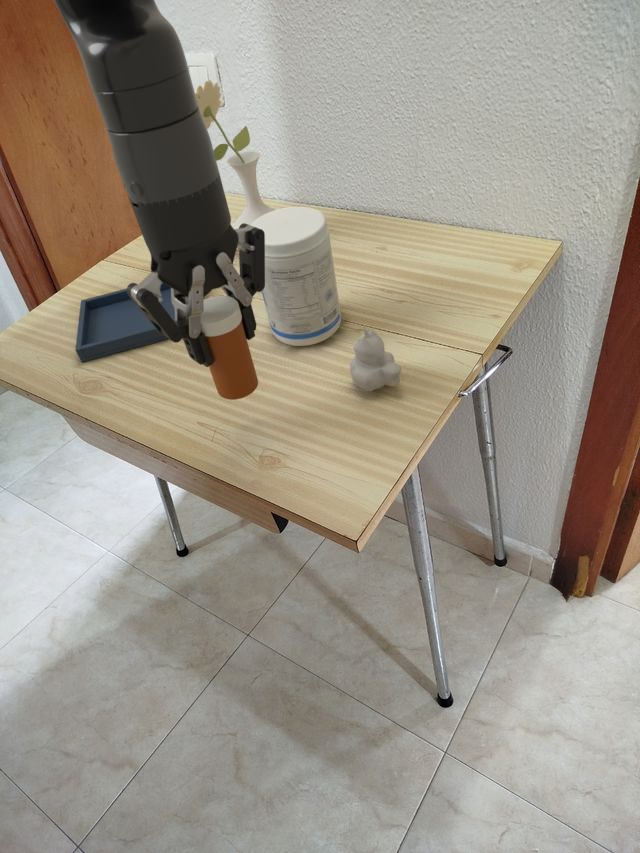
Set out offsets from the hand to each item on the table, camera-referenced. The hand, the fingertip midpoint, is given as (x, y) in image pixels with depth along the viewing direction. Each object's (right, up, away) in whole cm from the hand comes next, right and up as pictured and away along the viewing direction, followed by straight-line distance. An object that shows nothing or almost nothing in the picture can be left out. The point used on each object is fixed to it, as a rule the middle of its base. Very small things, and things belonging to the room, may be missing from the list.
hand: (226, 348), depth 59 cm
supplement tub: (+8, +5, +20) cm, 22 cm away
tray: (-17, +8, +28) cm, 33 cm away
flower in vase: (-1, +22, +39) cm, 45 cm away
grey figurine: (+16, -3, +10) cm, 19 cm away
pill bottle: (+1, -4, +3) cm, 5 cm away
